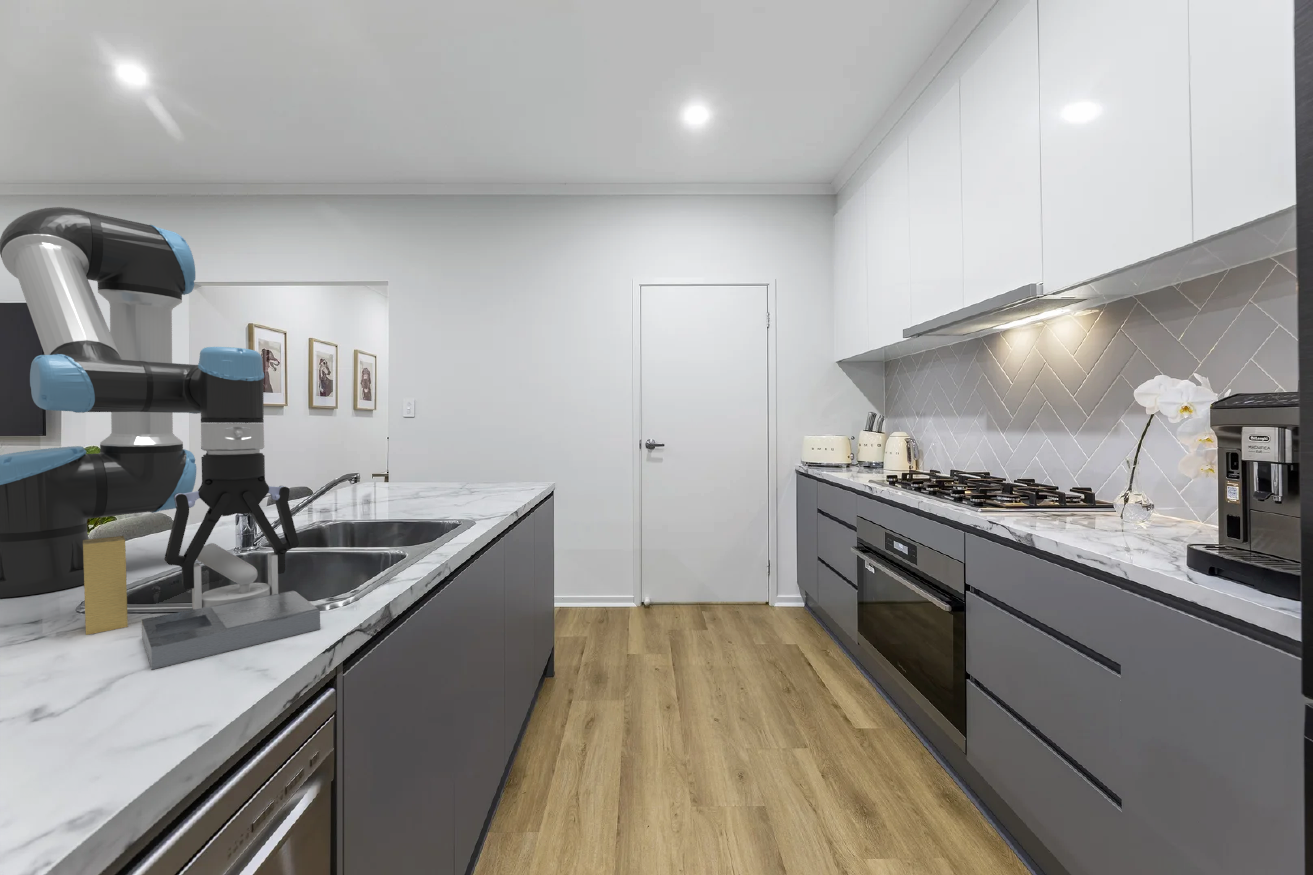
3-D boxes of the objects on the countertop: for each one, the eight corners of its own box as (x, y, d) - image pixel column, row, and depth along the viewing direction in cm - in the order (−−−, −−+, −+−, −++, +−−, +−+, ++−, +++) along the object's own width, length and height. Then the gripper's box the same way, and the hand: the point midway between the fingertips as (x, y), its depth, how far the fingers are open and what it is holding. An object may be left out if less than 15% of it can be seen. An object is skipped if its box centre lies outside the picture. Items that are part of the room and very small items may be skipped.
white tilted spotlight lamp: (229, 537, 89) (283, 540, 87) (231, 596, 90) (284, 600, 88) (174, 549, 81) (231, 552, 79) (175, 614, 81) (233, 619, 79)
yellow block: (85, 627, 76) (82, 540, 76) (125, 619, 79) (123, 535, 79) (85, 634, 74) (83, 544, 73) (127, 626, 76) (125, 539, 76)
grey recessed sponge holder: (141, 638, 72) (141, 618, 72) (293, 606, 85) (293, 589, 85) (151, 669, 63) (151, 646, 63) (320, 629, 76) (319, 610, 76)
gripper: (138, 456, 73) (142, 627, 74) (321, 450, 88) (323, 592, 89) (134, 454, 78) (138, 613, 79) (308, 448, 94) (310, 582, 94)
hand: (236, 602), depth 84 cm, fingers closed on white tilted spotlight lamp, 8 cm apart
